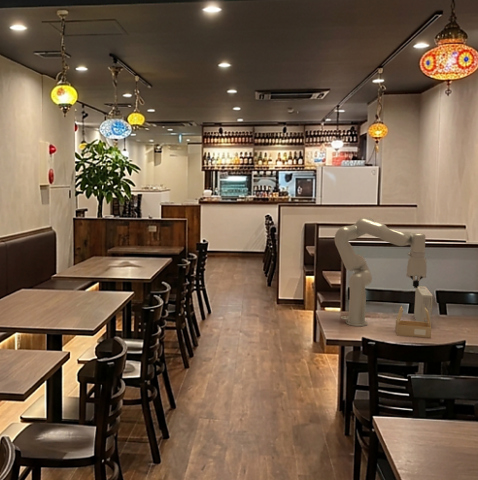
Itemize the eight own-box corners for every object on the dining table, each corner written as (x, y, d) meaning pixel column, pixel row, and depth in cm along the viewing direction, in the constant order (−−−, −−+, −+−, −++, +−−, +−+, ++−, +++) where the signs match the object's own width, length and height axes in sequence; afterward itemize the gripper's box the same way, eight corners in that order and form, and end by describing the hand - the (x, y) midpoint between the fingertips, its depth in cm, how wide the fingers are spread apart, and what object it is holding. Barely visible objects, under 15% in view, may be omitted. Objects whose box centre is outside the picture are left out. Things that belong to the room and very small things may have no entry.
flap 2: (430, 325, 295) (427, 311, 295) (427, 321, 305) (424, 307, 305) (431, 325, 295) (428, 311, 294) (428, 321, 305) (425, 307, 305)
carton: (397, 335, 298) (397, 325, 298) (395, 330, 310) (395, 319, 309) (430, 338, 295) (431, 327, 294) (427, 332, 307) (428, 322, 306)
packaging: (430, 329, 315) (433, 295, 313) (420, 328, 316) (422, 295, 314) (423, 317, 344) (425, 286, 342) (413, 316, 345) (415, 285, 343)
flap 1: (398, 323, 298) (402, 309, 297) (396, 318, 309) (400, 305, 307) (398, 323, 298) (403, 310, 297) (397, 319, 309) (401, 306, 307)
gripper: (404, 255, 296) (402, 288, 297) (432, 256, 293) (430, 289, 295) (402, 253, 303) (401, 285, 305) (430, 255, 300) (428, 287, 302)
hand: (415, 287), depth 300 cm, fingers closed
